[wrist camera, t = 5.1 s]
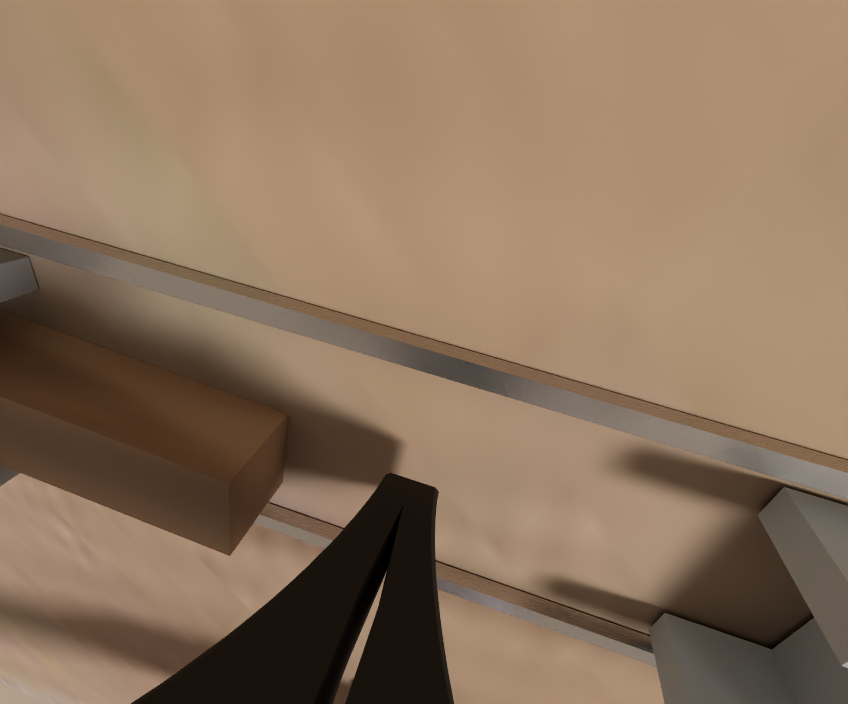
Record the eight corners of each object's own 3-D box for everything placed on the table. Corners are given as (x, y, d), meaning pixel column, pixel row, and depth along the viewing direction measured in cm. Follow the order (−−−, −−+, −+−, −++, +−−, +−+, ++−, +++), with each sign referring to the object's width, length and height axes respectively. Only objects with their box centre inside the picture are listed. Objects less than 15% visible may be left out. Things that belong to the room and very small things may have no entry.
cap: (786, 677, 12) (857, 836, 10) (648, 629, 13) (679, 768, 10) (979, 545, 9) (1175, 733, 6) (784, 486, 9) (885, 637, 7)
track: (796, 700, 13) (805, 720, 12) (-2, 418, 16) (-17, 427, 15) (1075, 526, 8) (1105, 548, 8) (-108, 183, 11) (-133, 185, 11)
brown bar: (286, 476, 14) (230, 556, 11) (28, 379, 15) (-78, 433, 12) (292, 408, 12) (228, 483, 10) (3, 305, 13) (-125, 348, 11)
